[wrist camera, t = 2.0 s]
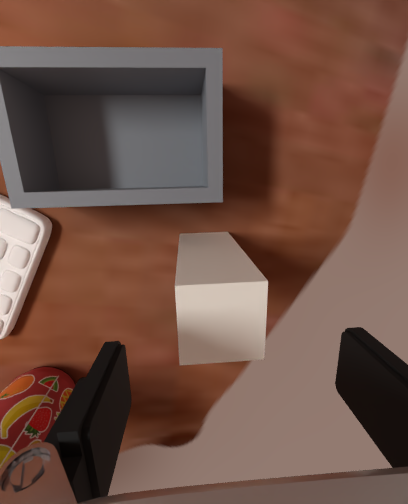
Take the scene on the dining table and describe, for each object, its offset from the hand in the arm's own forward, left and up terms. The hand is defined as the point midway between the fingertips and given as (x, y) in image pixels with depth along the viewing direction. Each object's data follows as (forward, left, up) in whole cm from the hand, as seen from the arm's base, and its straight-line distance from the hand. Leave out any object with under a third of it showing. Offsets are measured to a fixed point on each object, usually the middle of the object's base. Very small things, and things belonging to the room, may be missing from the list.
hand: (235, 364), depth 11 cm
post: (-1, 0, -14) cm, 14 cm away
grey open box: (-11, -6, -14) cm, 19 cm away
